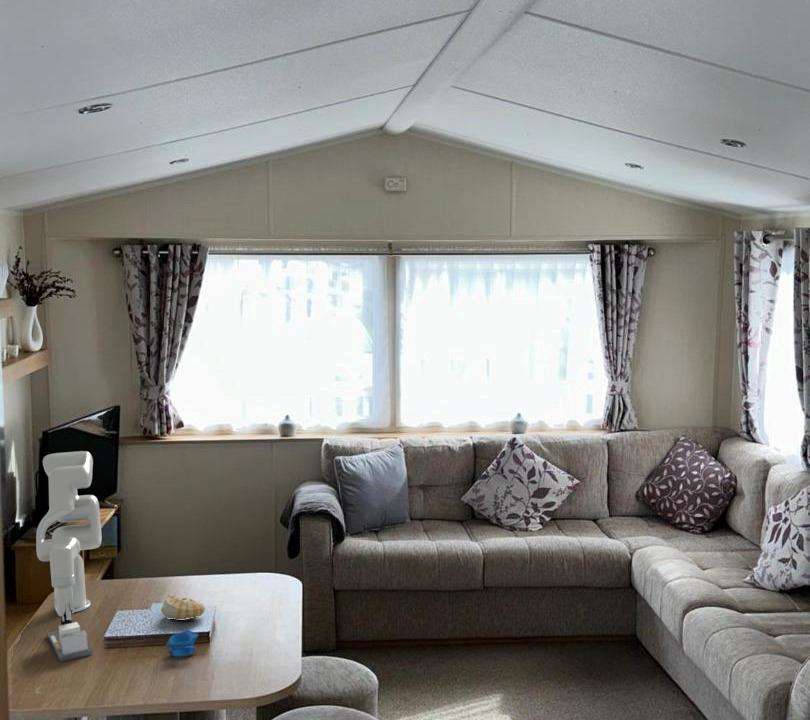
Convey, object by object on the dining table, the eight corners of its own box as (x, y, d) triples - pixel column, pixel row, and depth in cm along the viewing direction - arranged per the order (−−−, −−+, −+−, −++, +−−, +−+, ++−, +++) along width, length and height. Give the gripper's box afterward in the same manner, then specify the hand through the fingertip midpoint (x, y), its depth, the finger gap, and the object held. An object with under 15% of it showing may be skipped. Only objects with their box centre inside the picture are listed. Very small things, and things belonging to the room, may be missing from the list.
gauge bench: (48, 636, 334) (46, 616, 333) (77, 630, 339) (76, 610, 338) (60, 661, 313) (59, 640, 312) (91, 654, 318) (90, 633, 317)
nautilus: (153, 613, 355) (192, 606, 362) (167, 629, 336) (208, 622, 343) (152, 592, 355) (192, 586, 362) (166, 607, 336) (208, 600, 343)
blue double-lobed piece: (162, 632, 318) (197, 621, 319) (170, 656, 320) (205, 645, 321) (160, 641, 311) (196, 630, 312) (167, 665, 312) (203, 654, 313)
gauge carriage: (53, 641, 323) (52, 627, 323) (78, 635, 327) (76, 621, 327) (56, 646, 319) (55, 632, 318) (80, 640, 323) (79, 626, 322)
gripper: (47, 576, 331) (51, 626, 333) (55, 589, 318) (59, 641, 320) (70, 571, 334) (74, 621, 337) (78, 584, 321) (82, 636, 324)
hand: (67, 631), depth 328 cm, fingers closed
